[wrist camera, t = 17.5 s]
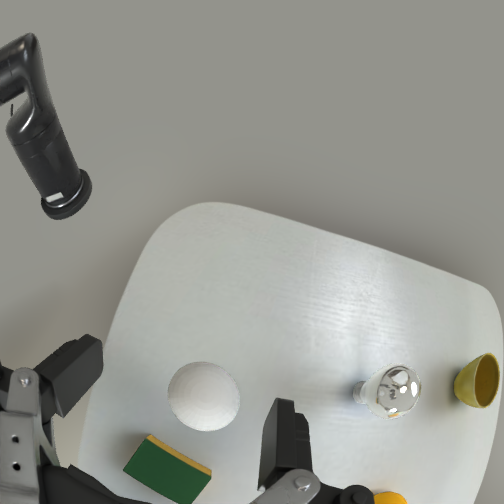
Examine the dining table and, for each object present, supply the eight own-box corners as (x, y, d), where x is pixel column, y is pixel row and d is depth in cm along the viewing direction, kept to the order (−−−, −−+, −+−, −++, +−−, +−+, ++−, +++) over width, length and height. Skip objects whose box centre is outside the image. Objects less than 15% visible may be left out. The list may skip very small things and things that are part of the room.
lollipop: (230, 409, 30) (262, 410, 18) (190, 429, 27) (193, 447, 15) (205, 369, 32) (219, 343, 20) (165, 388, 29) (150, 375, 17)
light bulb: (378, 409, 31) (433, 411, 21) (337, 419, 30) (388, 428, 20) (376, 366, 34) (430, 354, 24) (335, 372, 33) (385, 364, 23)
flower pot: (459, 419, 31) (486, 418, 24) (438, 392, 33) (467, 388, 27) (478, 379, 35) (504, 373, 28) (459, 350, 37) (486, 341, 31)
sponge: (129, 463, 24) (122, 470, 21) (150, 434, 26) (144, 438, 23) (188, 498, 22) (187, 508, 20) (211, 470, 25) (211, 478, 22)
